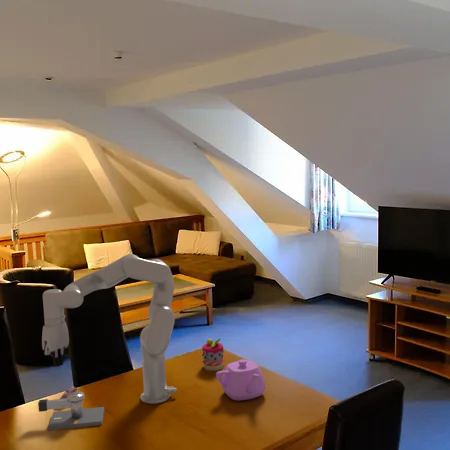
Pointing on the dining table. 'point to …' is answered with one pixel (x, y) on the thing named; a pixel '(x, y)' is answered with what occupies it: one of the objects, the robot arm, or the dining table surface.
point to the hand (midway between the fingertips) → (58, 365)
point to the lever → (65, 404)
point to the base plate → (66, 421)
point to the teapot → (242, 380)
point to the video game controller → (68, 392)
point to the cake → (213, 355)
